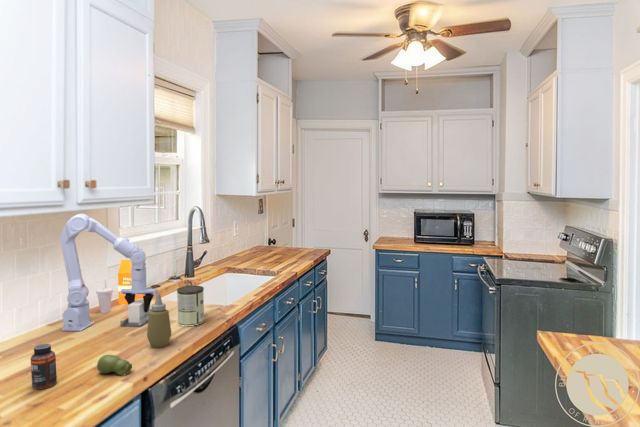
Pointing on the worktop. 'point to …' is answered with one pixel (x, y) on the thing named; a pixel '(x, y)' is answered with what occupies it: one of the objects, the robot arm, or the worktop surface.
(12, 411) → the worktop surface
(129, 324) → the dark grey tray
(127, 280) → the orange juice
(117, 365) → the green lumpy rounded piece
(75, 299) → the robot arm
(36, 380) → the supplement bottle
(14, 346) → the worktop surface
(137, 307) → the white rectangular block
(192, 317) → the coffee can
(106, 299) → the smoothie
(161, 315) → the squeeze bottle
